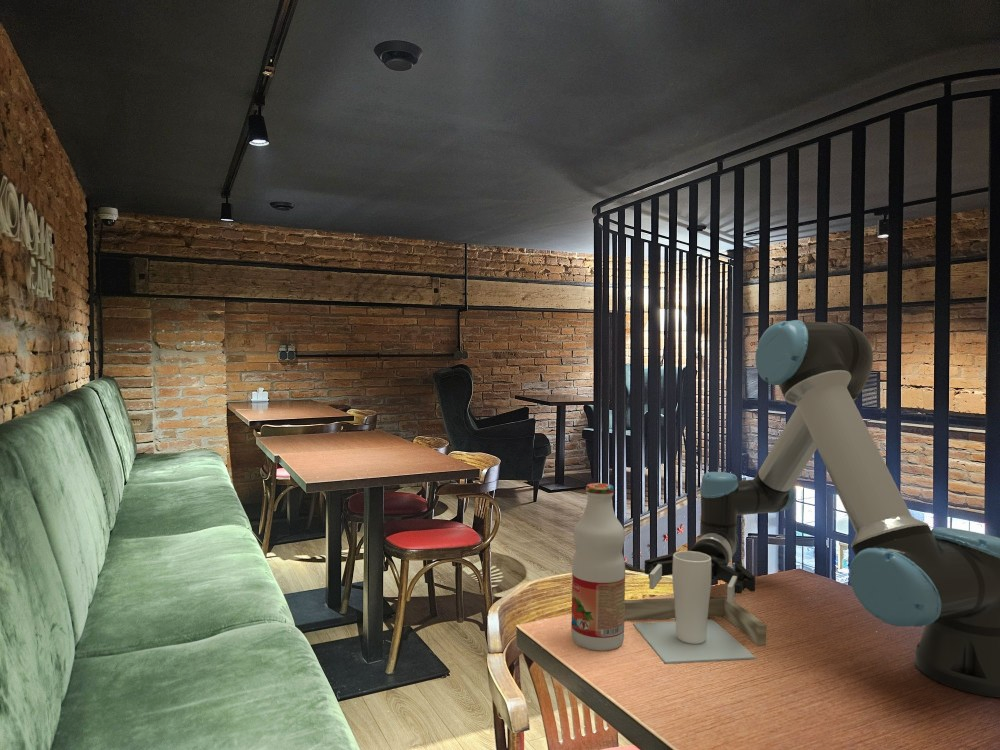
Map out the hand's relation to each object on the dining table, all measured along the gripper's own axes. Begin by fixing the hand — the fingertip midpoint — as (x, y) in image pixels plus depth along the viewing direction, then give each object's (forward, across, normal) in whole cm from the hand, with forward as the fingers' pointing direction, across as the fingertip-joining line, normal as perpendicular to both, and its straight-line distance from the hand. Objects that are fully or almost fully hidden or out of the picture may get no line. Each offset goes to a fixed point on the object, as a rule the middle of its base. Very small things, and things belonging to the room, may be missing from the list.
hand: (689, 587), depth 116 cm
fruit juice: (+6, +15, -10) cm, 19 cm away
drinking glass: (-2, 0, -10) cm, 10 cm away
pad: (-1, 0, -10) cm, 10 cm away
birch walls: (-6, +1, -10) cm, 12 cm away
